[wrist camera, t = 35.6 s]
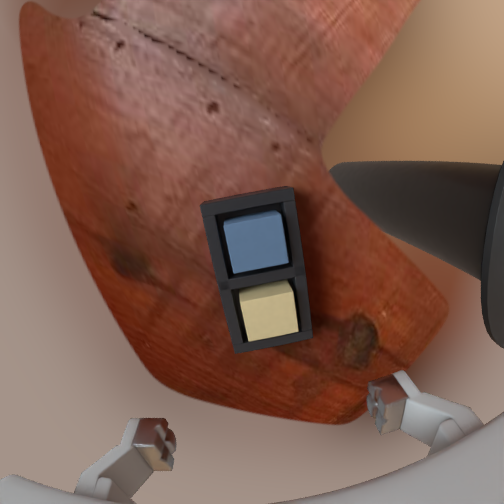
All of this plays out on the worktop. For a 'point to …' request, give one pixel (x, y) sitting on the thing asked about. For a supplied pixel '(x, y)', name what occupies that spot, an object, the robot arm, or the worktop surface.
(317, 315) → the worktop surface
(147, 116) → the worktop surface
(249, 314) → the pad beige
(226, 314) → the backing frame
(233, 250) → the pad blue
